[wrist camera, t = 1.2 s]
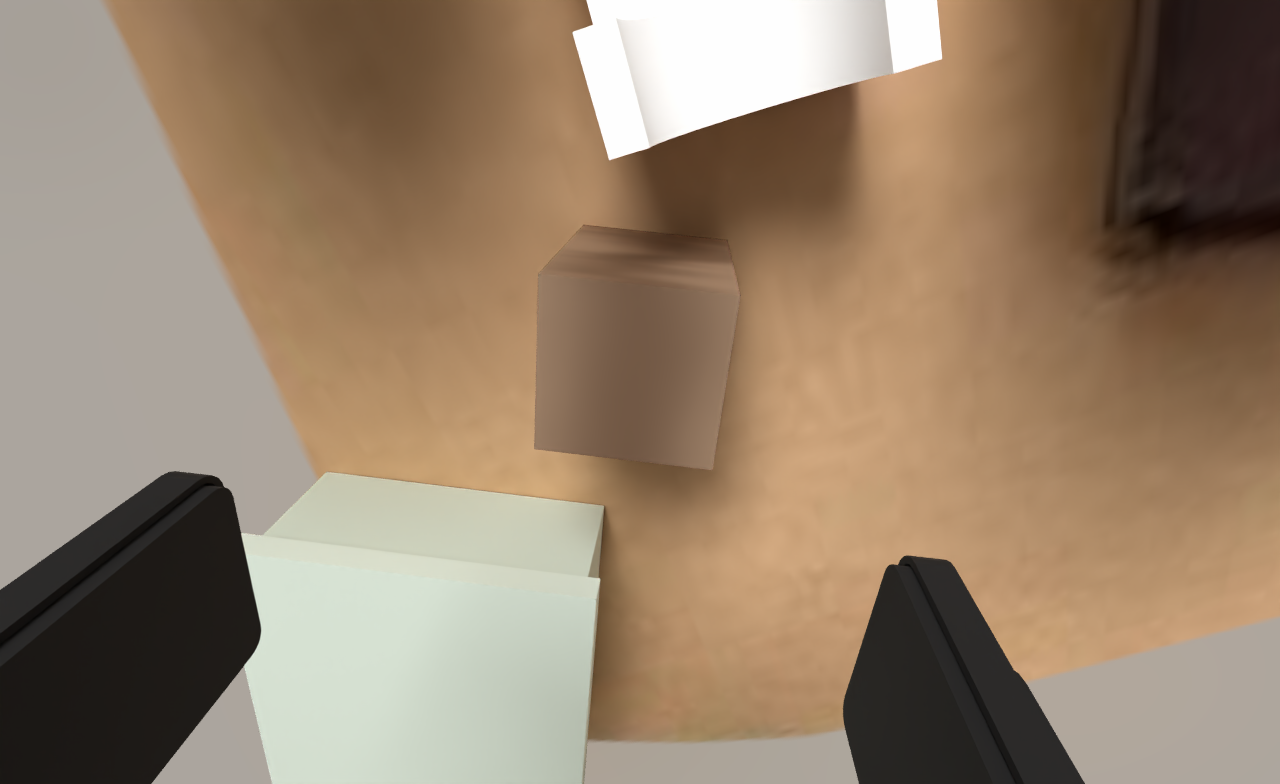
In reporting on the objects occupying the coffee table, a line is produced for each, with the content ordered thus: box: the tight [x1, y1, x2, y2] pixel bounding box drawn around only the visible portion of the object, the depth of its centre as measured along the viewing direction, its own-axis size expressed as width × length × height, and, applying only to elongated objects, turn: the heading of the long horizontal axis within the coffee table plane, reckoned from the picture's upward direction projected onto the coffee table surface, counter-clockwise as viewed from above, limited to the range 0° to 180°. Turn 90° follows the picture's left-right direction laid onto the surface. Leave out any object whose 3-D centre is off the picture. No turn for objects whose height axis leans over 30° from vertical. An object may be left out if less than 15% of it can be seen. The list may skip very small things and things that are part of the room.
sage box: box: [241, 472, 604, 784], centre depth 27 cm, size 13×13×6 cm
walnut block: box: [534, 225, 741, 470], centre depth 20 cm, size 5×5×7 cm
